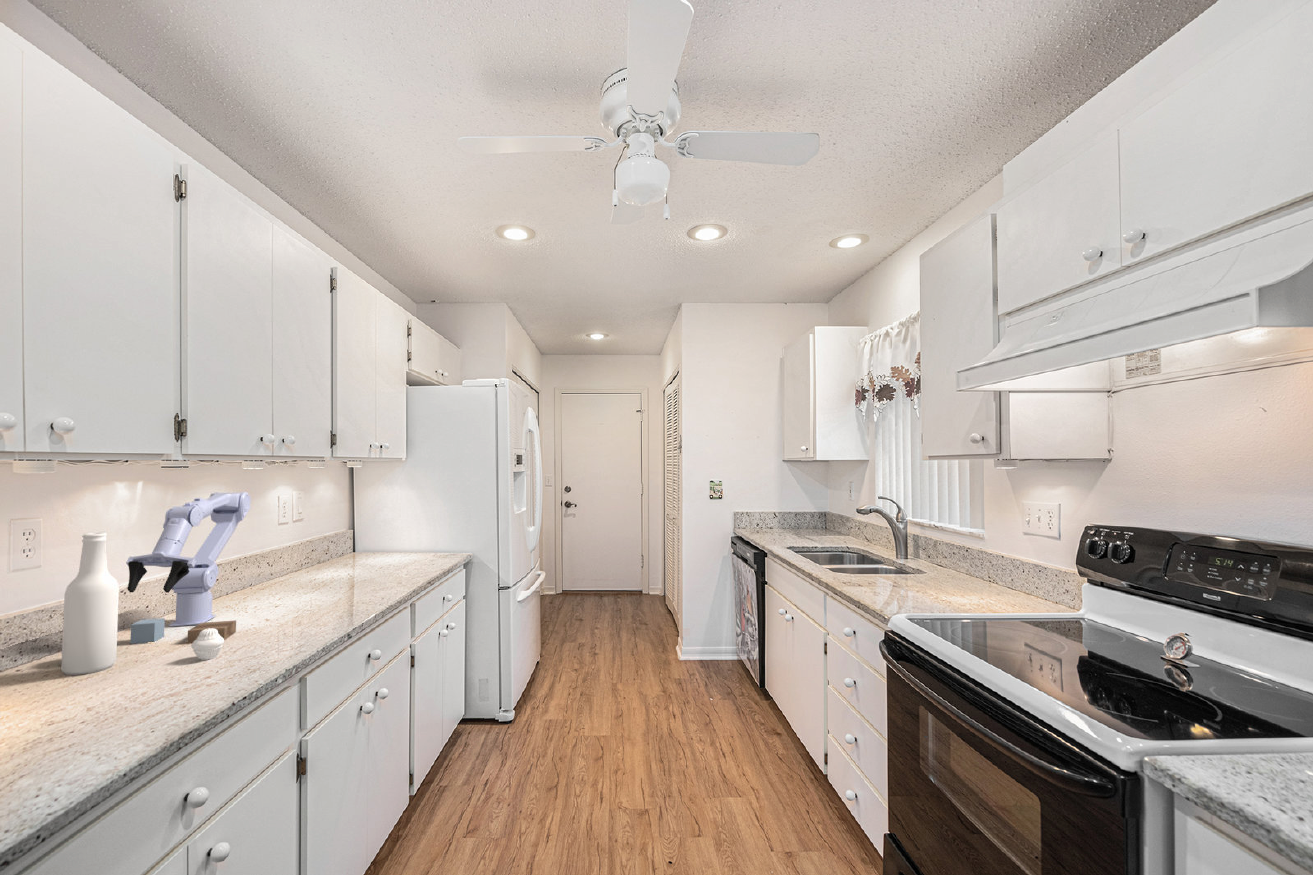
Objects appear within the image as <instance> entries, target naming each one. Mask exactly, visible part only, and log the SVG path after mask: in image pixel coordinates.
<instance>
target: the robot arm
mask: <svg viewBox="0 0 1313 875" xmlns="http://www.w3.org/2000/svg"><path fill="white" fill-rule="evenodd" d="M251 503H252V500H251V495H250V494H249V493H248V492H247V491H243V492H214V493H213V492H212V493H210V495H209V497H208V498H206V499H205V498H203V497H195V498H194V499H193V501H191V502H186V503H185V504H183V505H182V506H173V507H171V508H169V510H166V512H165V518H164V519H165V520H164V523H163V525H162V526H163V527H162V528H163V530H162V532H161V534H160V536H159V539H158V540H157V542H156V544H155V546H154V548H153V550H152V552H151V553H150V554H149V553H148V554H143V555H137V556H136V555H135V556H129V557H128V558H127V561H126V565H127V566H128V571H129V572H128V573H129V577H128V584H127V588H126V589H127V591H128V592H129V593H134V592H135V591H136V590H137V587H138V585H139V583H140V581H141V580H142V578H143V577H144V576H145V575H146V574H147V572H148V570H147V569H146V567H149V566H150V567H161V568H170V571H169V574H168V576H167V579H166V580H165V582H164V585H163V592H165V593H166V594H167V593H168V594H169V592H170V591H173V594H176V600H175V621H174V622H171V623H170V624H168V627H181V626H182V627H183V626H197V625H198V624H200V623H206V622H209V621H210V620H212V619H214V618H216V614H213V594H212V592H211V591H210V590H211V589H213V587H214V585H215V584H216V582H217V578H218V576H219V573H220V571H219V567H218V565H217V563H216V561H217V560H218V558H219V556H220V554H221V553H222V552H223V550H224V548H225V546H226V545H227V544H228V542H229V541H230V539H231V538H232V535H233V534H234V532H235V531H236V529H237V527H238V525H239V523H240V522H242V521H243V520H244V519H245V517H246V516H247V514H248V512H249V510H251ZM209 516H210V519H211V521H212V522H213V523H215V526H214V527H213V529H212V530H211V532H210V533H209V534H208V536H207V537H206V539H205V540H204V542H203V544H202V545H201V546H200V548H199V549H198V551H197V552H196V554H195V555H194V557H188V556H181V552H182V550H183V548H184V546H185V544H186V542H187V539H188V538H189V535H190V533H191V531H192V529H193V527H198V526H199V525H200V524H201V521H203V520H204V519H206V518H207V517H209Z"/></svg>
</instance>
